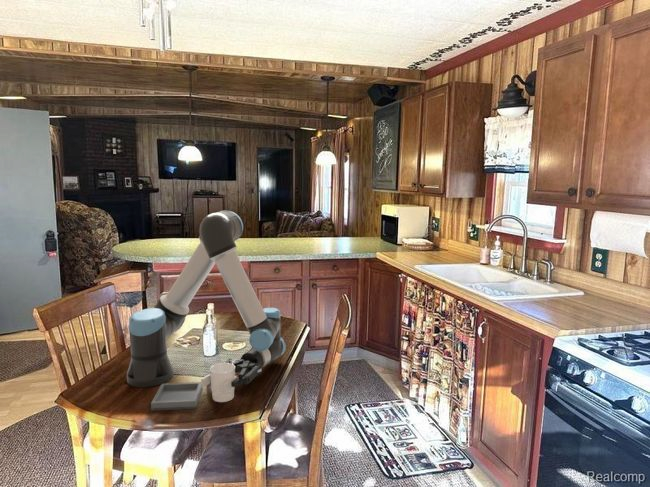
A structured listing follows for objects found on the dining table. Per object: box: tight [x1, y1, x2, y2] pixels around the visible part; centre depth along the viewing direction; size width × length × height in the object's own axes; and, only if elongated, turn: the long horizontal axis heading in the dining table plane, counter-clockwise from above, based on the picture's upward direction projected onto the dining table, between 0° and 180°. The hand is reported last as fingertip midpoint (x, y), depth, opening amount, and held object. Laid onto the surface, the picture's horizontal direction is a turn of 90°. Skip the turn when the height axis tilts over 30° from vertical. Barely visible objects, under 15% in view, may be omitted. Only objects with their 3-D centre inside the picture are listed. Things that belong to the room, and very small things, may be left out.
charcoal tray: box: [150, 381, 204, 412], centre depth 142 cm, size 13×13×2 cm
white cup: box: [209, 362, 236, 403], centre depth 143 cm, size 8×8×10 cm
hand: (212, 385), depth 139 cm, fingers closed on white cup, 7 cm apart
